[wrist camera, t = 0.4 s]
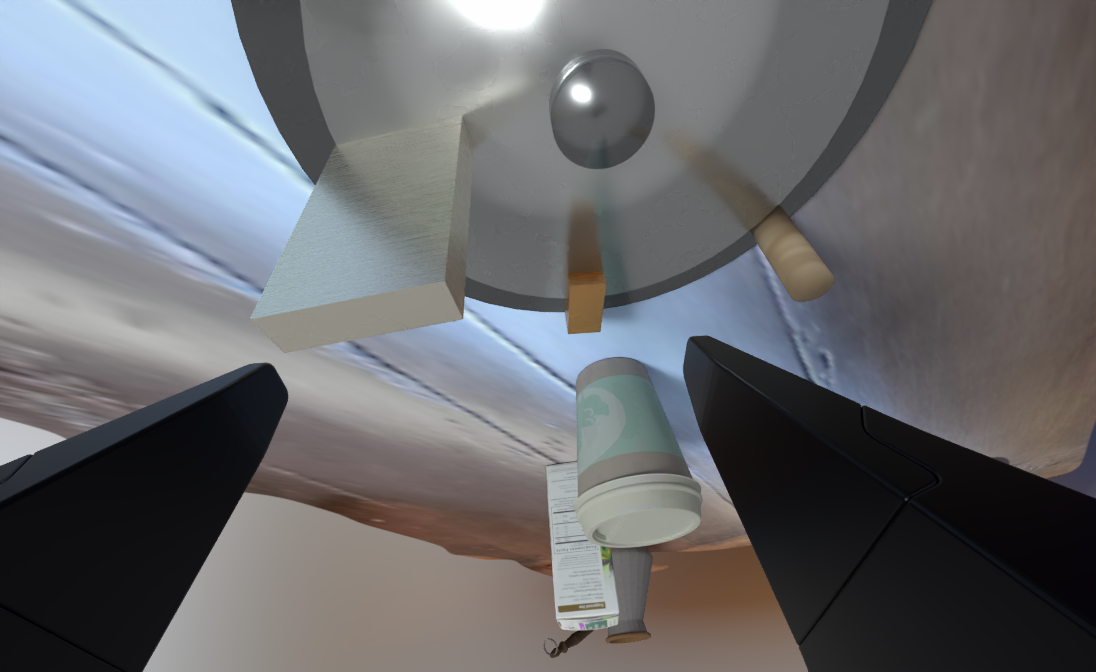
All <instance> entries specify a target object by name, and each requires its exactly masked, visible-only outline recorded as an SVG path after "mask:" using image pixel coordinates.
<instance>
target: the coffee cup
mask: <svg viewBox="0 0 1096 672" xmlns="http://www.w3.org/2000/svg"><path fill="white" fill-rule="evenodd" d="M576 410H577V478H578V499H577V500H576V501H575V503H574V511H575V512H576V513H577V514H576V517H577V520H578V522H579V523H580V524H581V526H582V528H583V531H584V533H585V536H586V538H587V540H588V541H590V542H591V543H593V544H596V545H599V546H604V547H613V548H630V547H641V546H648V545H654V544H659V543H663V542H667V541H670V540H673V539H676V538H679V537H682V536H684V535H686V534H688V533H690V532H691V531H693V530H694V529H696V528H697V527H698V526H699V524H700V522H701V504H702V496H701V494H700V493H701V486H700V485H699V483H698V482H696V481H695V480H693V478H692V476H691V473H690V471H689V469H688V466H687V464H686V462H685V459H684V457H683V455H682V452H681V450H680V448H679V445H678V443H677V441H676V438H675V436H674V434H673V431H672V429H671V427H670V424H669V422H668V420H667V417H666V415H665V413H664V410H663V408H662V406H661V403H660V401H659V399H658V396H657V394H656V392H655V389H654V387H653V385H652V382H651V380H650V378H649V376H648V373H647V371H646V369H645V367H644V366H643V365H642V364H641V363H639V362H638V361H636V360H633V359H629V358H621V357H619V358H608V359H603V360H600V361H597V362H595V363H593V364H591V365H589V366H588V367H586V368H585V369H584V370H583V371H582V372H581V373H580V374H579V376H578V378H577V381H576Z"/></svg>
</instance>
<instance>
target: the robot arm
mask: <svg viewBox="0 0 1096 672" xmlns="http://www.w3.org/2000/svg"><path fill="white" fill-rule="evenodd" d="M683 374H684V379H685V382H686V386H687V389H688V392H689V396H690V399H691V402H692V406H693V409H694V412H695V416H696V419H697V422H698V425H699V428H700V431H701V434H702V436H703V438H704V441H705V443H706V445H707V447H708V449H709V452H710V454H711V456H712V458H713V460H714V463H715V465H716V467H717V469H718V471H719V474H720V476H721V478H722V480H723V482H724V485H725V487H726V489H727V491H728V493H729V496H730V498H731V500H732V502H733V504H734V507H735V509H736V511H737V513H738V515H739V517H740V520H741V522H742V524H743V526H744V528H745V531H746V533H747V535H748V537H749V539H750V542H751V544H752V546H753V548H754V550H755V553H756V555H757V557H758V559H759V561H760V564H761V565H762V568H763V570H764V572H765V575H766V577H767V579H768V581H769V583H770V585H771V588H772V590H773V592H774V594H775V597H776V599H777V601H778V603H779V605H780V608H781V610H782V612H783V614H784V616H785V618H786V621H787V623H788V625H789V627H790V629H791V632H792V634H793V636H794V638H795V640H796V643H797V644H798V645H800V646H799V649H800V652H801V654H802V656H803V659H804V661H805V664H806V666H807V669H808V672H1096V498H1094V497H1091V496H1088V495H1086V494H1083V493H1081V492H1078V491H1076V490H1073V489H1070V488H1067V487H1065V486H1063V485H1060V484H1058V483H1055V482H1052V481H1050V480H1047V479H1045V478H1042V477H1040V476H1037V475H1034V474H1032V473H1029V472H1027V471H1024V470H1022V469H1019V468H1016V467H1014V466H1011V465H1009V464H1006V463H1003V462H1001V461H998V460H996V459H993V458H991V457H988V456H986V455H983V454H980V453H978V452H975V451H973V450H970V449H968V448H965V447H962V446H960V445H957V444H955V443H952V442H950V441H947V440H945V439H942V438H940V437H937V436H935V435H932V434H930V433H928V432H925V431H923V430H920V429H918V428H915V427H913V426H911V425H908V424H906V423H904V422H901V421H899V420H897V419H894V418H892V417H890V416H887V415H885V414H883V413H881V412H879V411H876V410H874V409H872V408H870V407H867V406H862V407H861V405H860V404H859V403H857V402H855V401H852V400H850V399H848V398H846V397H843V396H841V395H839V394H837V393H835V392H832V391H830V390H828V389H826V388H823V387H821V386H819V385H817V384H815V383H812V382H810V381H808V380H806V379H803V378H801V377H799V376H797V375H794V374H792V373H790V372H788V371H786V370H783V369H781V368H779V367H777V366H774V365H772V364H770V363H768V362H766V361H763V360H761V359H759V358H757V357H754V356H752V355H750V354H748V353H745V352H743V351H741V350H739V349H737V348H734V347H732V346H730V345H728V344H725V343H723V342H721V341H719V340H717V339H714V338H712V337H710V336H692V337H690V338H689V339H688V341H687V346H686V352H685V358H684V364H683ZM287 402H288V391H287V389H286V387H285V385H284V383H283V381H282V380H281V378H280V376H279V374H278V373H277V371H276V369H275V368H274V366H273V365H272V364H270V363H253V364H249V365H246V366H244V367H241V368H239V369H236V370H234V371H231V372H229V373H227V374H224V375H222V376H219V377H217V378H214V379H212V380H210V381H207V382H205V383H202V384H200V385H197V386H195V387H193V388H190V389H188V390H185V391H183V392H181V393H178V394H176V395H173V396H171V397H168V398H166V399H164V400H161V401H159V402H156V403H154V404H151V405H149V406H147V407H144V408H142V409H139V410H137V411H134V412H132V413H130V414H127V415H125V416H122V417H120V418H117V419H115V420H113V421H110V422H108V423H105V424H103V425H100V426H98V427H96V428H93V429H91V430H88V431H86V432H84V433H81V434H79V435H76V436H74V437H71V438H69V439H67V440H64V441H62V442H59V443H57V444H54V445H52V446H50V447H47V448H45V449H42V450H40V451H37V452H36V453H34V455H26V456H23V457H21V458H18V459H16V460H14V461H11V462H9V463H6V464H4V465H1V466H0V672H143V670H144V668H145V666H146V665H147V663H148V661H149V659H150V657H151V656H152V654H153V652H154V651H155V649H156V647H157V645H158V643H159V642H160V640H161V638H162V636H163V634H164V633H165V631H166V629H167V627H168V626H169V624H170V622H171V620H172V619H173V617H174V615H175V613H176V612H177V610H178V608H179V606H180V605H181V603H182V601H183V599H184V597H185V596H186V594H187V592H188V590H189V589H190V587H191V585H192V583H193V582H194V580H195V578H196V576H197V575H198V573H199V571H200V569H201V567H202V566H203V564H204V562H205V560H206V558H207V557H208V555H209V553H210V551H211V550H212V548H213V546H214V544H215V543H216V541H217V539H218V537H219V535H220V534H221V532H222V530H223V529H224V527H225V525H226V523H227V521H228V520H229V518H230V516H231V514H232V513H233V511H234V509H235V507H236V506H237V504H238V502H239V500H240V499H241V497H242V495H243V493H244V491H245V490H246V488H247V486H248V484H249V483H250V481H251V479H252V477H253V476H254V474H255V472H256V470H257V468H258V467H259V465H260V463H261V461H262V459H263V457H264V455H265V453H266V451H267V449H268V447H269V444H270V442H271V440H272V437H273V435H274V433H275V430H276V428H277V426H278V423H279V421H280V419H281V416H282V414H283V412H284V409H285V407H286V405H287Z"/></svg>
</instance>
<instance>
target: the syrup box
mask: <svg viewBox="0 0 1096 672" xmlns="http://www.w3.org/2000/svg"><path fill="white" fill-rule="evenodd" d="M546 477H547V494H548V508H549V523H550V537H551V553H552V568H553V583H554V594H555V608H556V619H557V622H558V624H559V626H560V627H561V628H562V629H563V630H594V629H601V628H606V627H611V626H614V625H618V620H619V612H620V611H619V603H618V596H617V589H616V582H615V575H614V568H613V560H612V553H611V547H604V546H599V545H596V544H593V543H591V542H590V541H588V540H587V538H586V536H585V533H584V531H583V528H582V526H581V524H580V523H579V522H578V520H577V517H576V514H577V513H576V512H575V511H574V503H575V501H576V500H577V499H578V478H577V462H570V463H563V464H557V465H549V466H546Z"/></svg>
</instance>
